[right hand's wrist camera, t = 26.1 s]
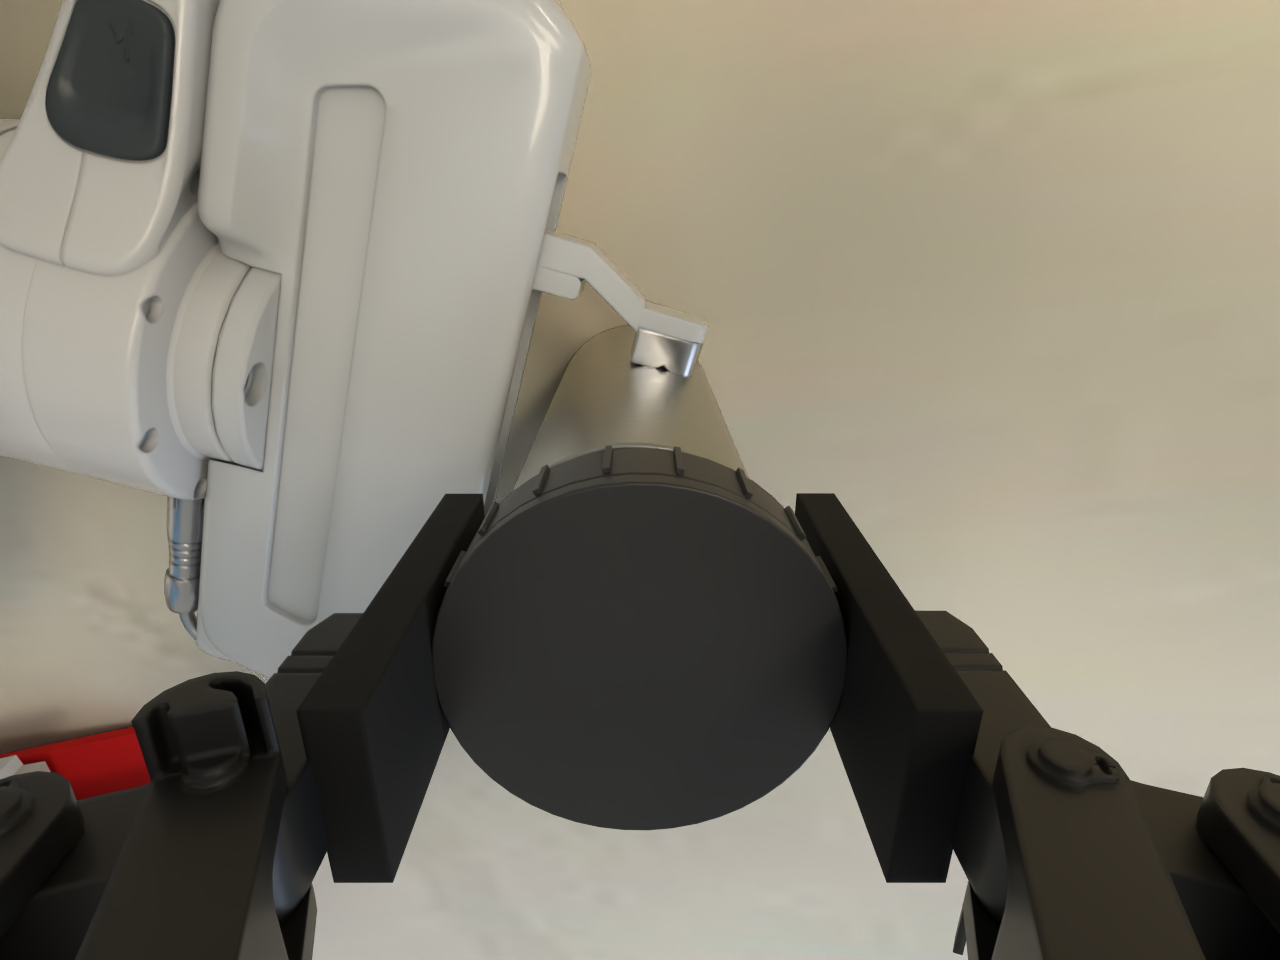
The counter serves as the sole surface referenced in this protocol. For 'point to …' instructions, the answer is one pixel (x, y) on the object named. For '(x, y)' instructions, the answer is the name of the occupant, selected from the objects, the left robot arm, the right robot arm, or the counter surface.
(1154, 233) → the counter surface
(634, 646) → the lid
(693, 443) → the jar
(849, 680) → the right robot arm
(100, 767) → the toy
